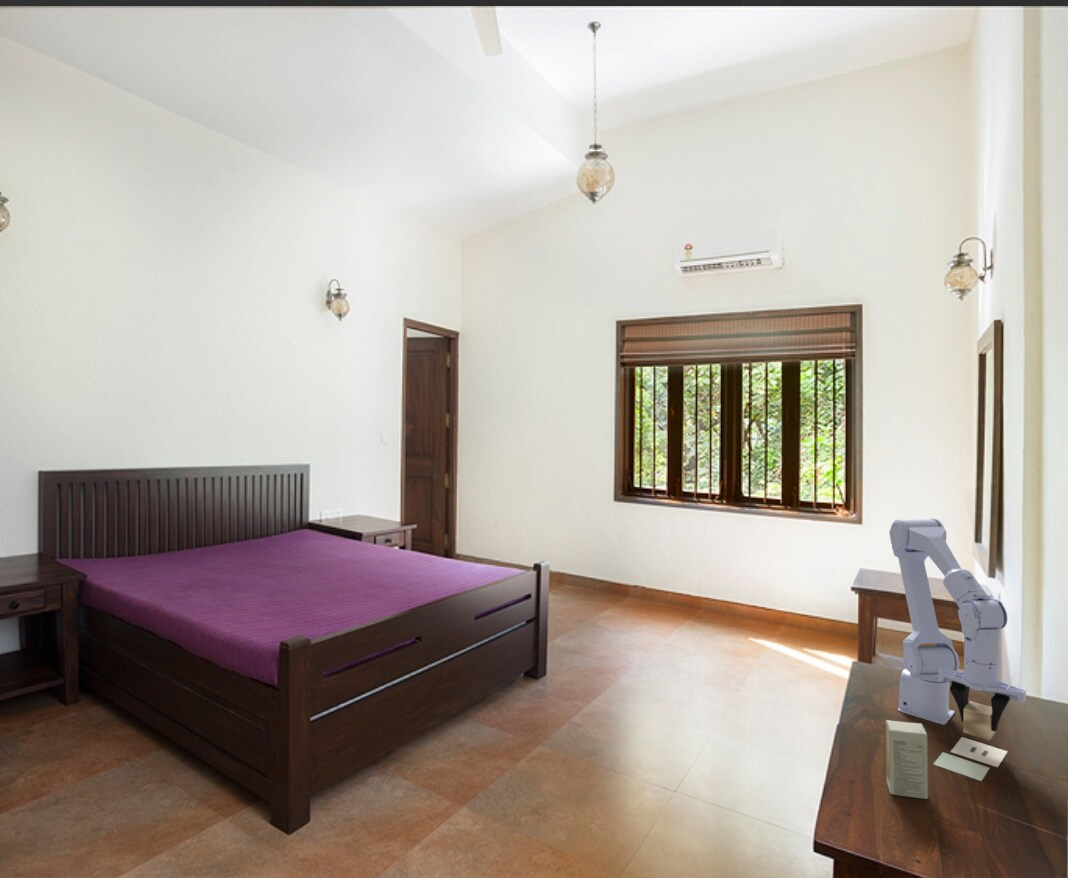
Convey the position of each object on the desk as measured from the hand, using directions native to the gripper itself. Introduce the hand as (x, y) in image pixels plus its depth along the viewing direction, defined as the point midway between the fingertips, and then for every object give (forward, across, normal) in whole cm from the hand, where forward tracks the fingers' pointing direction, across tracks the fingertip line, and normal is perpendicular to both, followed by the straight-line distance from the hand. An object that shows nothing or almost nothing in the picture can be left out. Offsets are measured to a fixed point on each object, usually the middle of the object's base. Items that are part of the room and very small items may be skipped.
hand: (979, 724), depth 133 cm
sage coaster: (+6, -1, -9) cm, 10 cm away
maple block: (+2, 0, 0) cm, 2 cm away
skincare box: (+6, -6, -24) cm, 25 cm away
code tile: (+6, 0, 0) cm, 6 cm away
